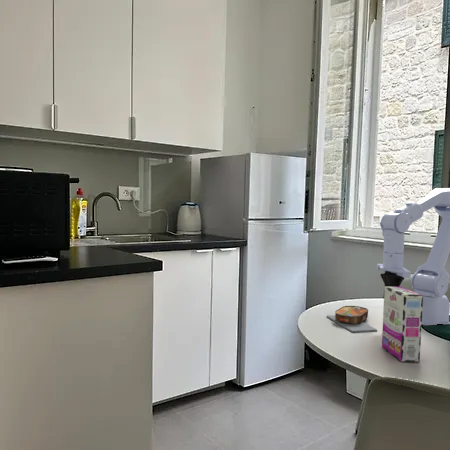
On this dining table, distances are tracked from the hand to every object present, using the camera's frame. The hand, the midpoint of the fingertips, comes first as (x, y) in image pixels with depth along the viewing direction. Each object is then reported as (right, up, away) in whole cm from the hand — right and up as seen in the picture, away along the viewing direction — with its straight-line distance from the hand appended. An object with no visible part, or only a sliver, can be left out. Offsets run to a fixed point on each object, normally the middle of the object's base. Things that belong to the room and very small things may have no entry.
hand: (391, 297), depth 132 cm
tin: (-6, -7, +6) cm, 11 cm away
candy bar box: (-6, -11, -22) cm, 26 cm away
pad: (-11, -9, +4) cm, 15 cm away
